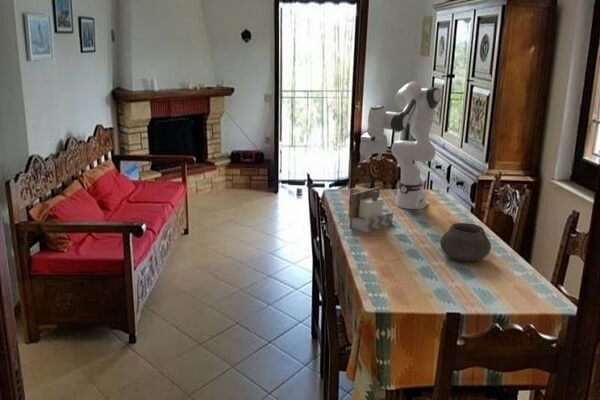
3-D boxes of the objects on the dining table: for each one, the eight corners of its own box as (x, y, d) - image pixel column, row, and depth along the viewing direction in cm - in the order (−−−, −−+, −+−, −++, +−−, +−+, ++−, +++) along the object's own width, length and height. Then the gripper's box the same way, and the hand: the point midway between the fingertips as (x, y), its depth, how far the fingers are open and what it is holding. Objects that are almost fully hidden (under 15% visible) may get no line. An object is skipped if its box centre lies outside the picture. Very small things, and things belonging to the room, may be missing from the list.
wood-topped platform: (375, 218, 285) (377, 186, 280) (392, 223, 278) (395, 191, 272) (349, 226, 270) (351, 193, 265) (366, 232, 263) (369, 198, 257)
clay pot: (436, 262, 229) (440, 231, 225) (441, 246, 248) (445, 217, 244) (487, 271, 222) (492, 239, 217) (489, 254, 241) (493, 224, 237)
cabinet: (373, 212, 279) (375, 187, 275) (381, 215, 275) (384, 189, 271) (358, 216, 271) (360, 190, 267) (367, 219, 267) (369, 193, 263)
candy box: (364, 217, 286) (366, 191, 282) (359, 218, 284) (361, 192, 279) (353, 213, 293) (355, 187, 288) (348, 214, 290) (349, 188, 286)
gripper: (381, 133, 286) (379, 158, 290) (358, 137, 272) (356, 162, 276) (391, 135, 282) (389, 160, 286) (368, 138, 268) (366, 164, 272)
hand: (373, 161), depth 281 cm, fingers open, 8 cm apart
